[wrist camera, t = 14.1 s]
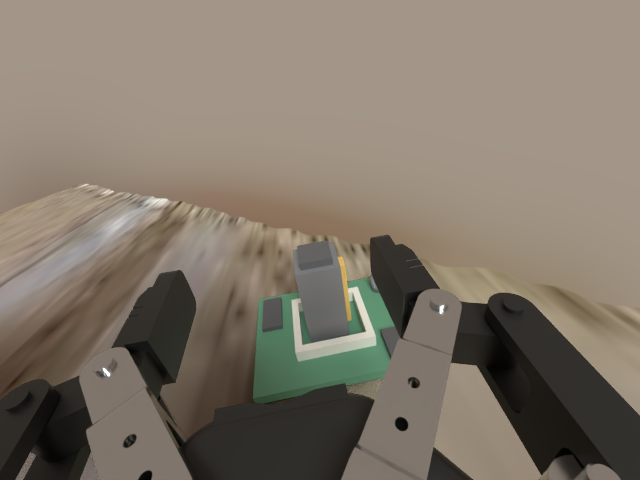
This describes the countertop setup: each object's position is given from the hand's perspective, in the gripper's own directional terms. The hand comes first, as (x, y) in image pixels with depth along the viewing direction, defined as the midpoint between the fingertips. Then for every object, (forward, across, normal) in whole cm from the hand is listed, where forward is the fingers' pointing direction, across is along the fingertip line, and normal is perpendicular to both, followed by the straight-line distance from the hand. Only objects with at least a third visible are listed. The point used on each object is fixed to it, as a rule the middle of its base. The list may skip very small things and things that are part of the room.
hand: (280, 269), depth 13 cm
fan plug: (+14, -2, +20) cm, 24 cm away
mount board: (+13, -3, +21) cm, 25 cm away
